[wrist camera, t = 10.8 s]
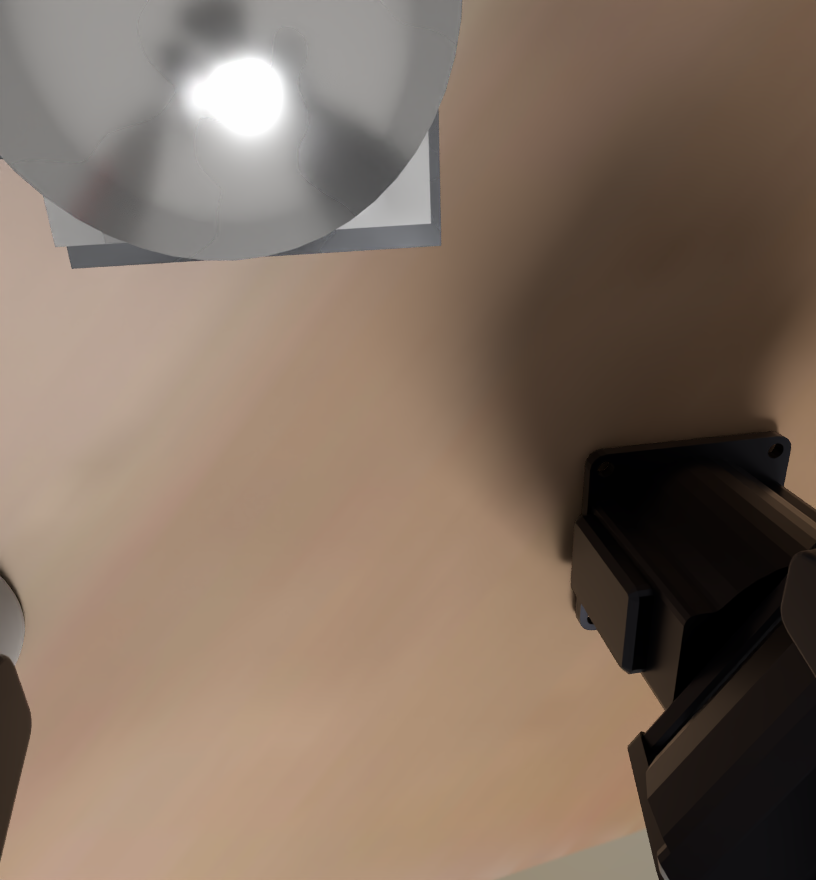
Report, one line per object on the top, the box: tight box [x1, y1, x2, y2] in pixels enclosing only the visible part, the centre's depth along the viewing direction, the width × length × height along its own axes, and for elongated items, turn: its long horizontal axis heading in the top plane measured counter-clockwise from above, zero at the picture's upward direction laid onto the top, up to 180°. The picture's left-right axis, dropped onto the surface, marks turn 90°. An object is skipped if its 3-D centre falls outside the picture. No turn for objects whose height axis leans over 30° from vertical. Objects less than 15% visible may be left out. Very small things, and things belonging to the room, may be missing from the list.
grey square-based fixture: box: [0, 0, 462, 260], centre depth 11 cm, size 6×6×6 cm
